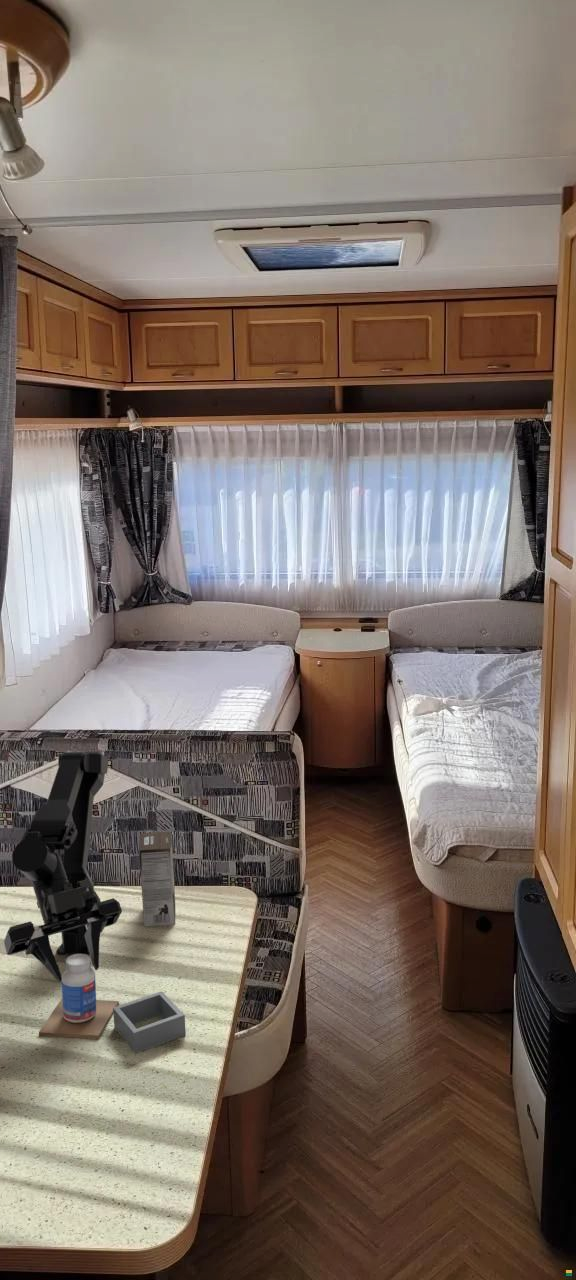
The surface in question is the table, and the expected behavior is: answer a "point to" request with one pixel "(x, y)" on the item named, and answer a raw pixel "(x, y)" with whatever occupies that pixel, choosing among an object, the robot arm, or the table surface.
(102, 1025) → the walnut coaster
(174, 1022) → the holder box
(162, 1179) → the table surface
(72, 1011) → the pill bottle
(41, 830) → the robot arm
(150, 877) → the coffee box
